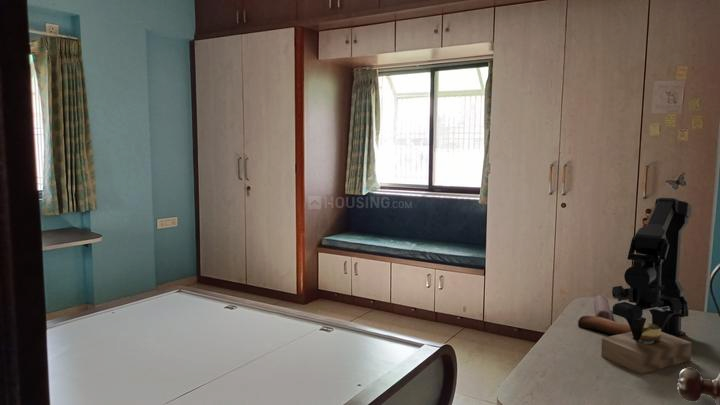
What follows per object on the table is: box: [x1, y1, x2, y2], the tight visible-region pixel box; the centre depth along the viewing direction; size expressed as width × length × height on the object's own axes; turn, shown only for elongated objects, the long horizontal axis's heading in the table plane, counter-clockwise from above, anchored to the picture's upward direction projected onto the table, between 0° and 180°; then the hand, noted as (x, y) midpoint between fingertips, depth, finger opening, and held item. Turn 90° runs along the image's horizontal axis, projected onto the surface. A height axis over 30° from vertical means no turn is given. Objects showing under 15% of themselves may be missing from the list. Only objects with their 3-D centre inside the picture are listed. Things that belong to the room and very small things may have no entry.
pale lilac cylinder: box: [592, 295, 613, 321], centre depth 168 cm, size 5×5×18 cm
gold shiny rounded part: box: [638, 322, 661, 345], centre depth 134 cm, size 7×7×7 cm
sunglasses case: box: [577, 315, 631, 336], centre depth 153 cm, size 18×7×7 cm
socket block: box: [601, 332, 692, 375], centre depth 134 cm, size 18×12×5 cm, turn 112°
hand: (646, 338), depth 134 cm, fingers closed on gold shiny rounded part, 6 cm apart
